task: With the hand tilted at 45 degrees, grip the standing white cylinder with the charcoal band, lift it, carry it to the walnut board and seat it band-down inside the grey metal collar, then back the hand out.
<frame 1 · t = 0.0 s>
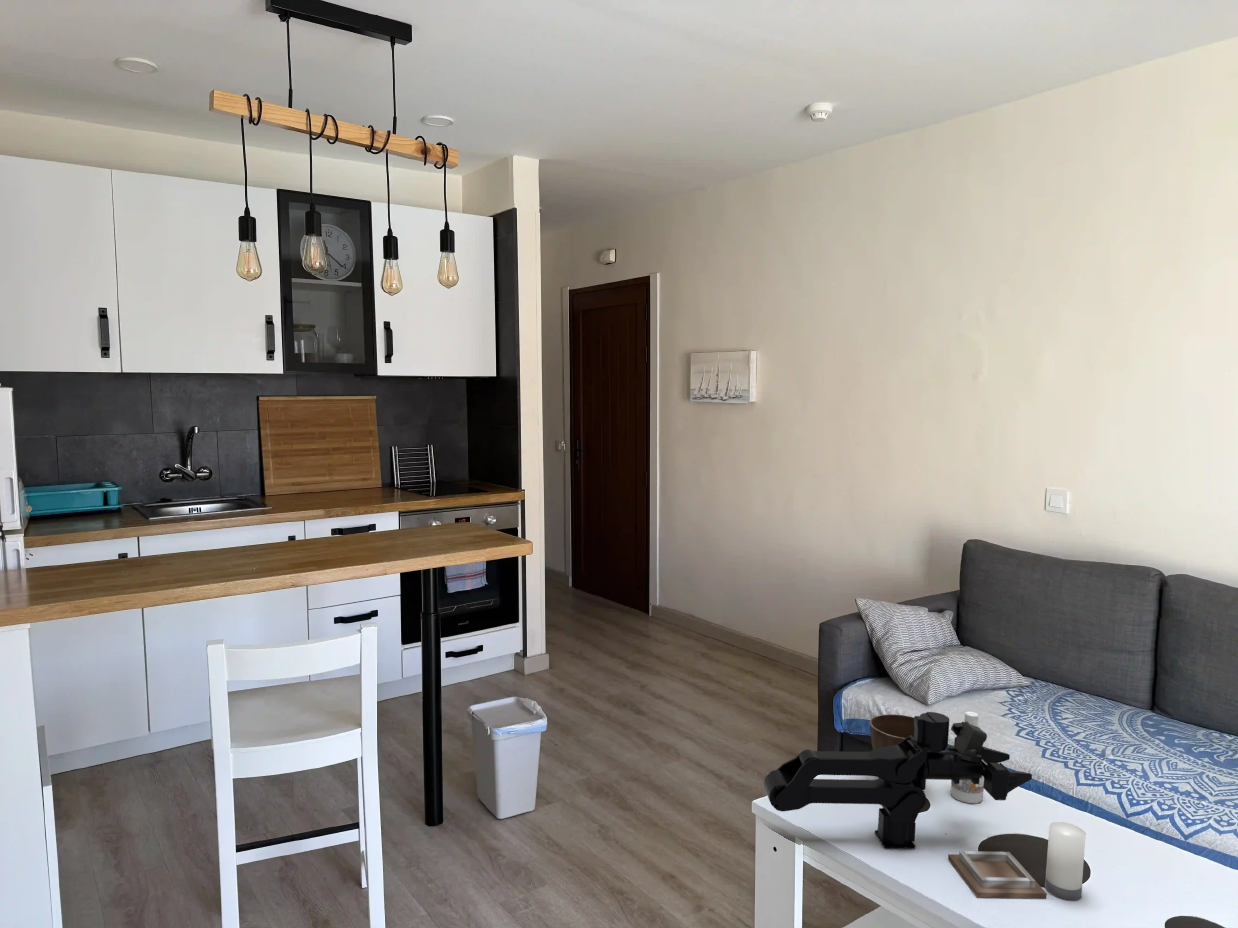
hand: (1020, 766, 173), 17 cm above the table, tool horizontal, fingers open, 9 cm apart
white cylinder: (1062, 890, 157), on the table
bath foam: (966, 797, 194), on the table
plant pot: (899, 792, 196), on the table
walnut board: (995, 877, 161), on the table
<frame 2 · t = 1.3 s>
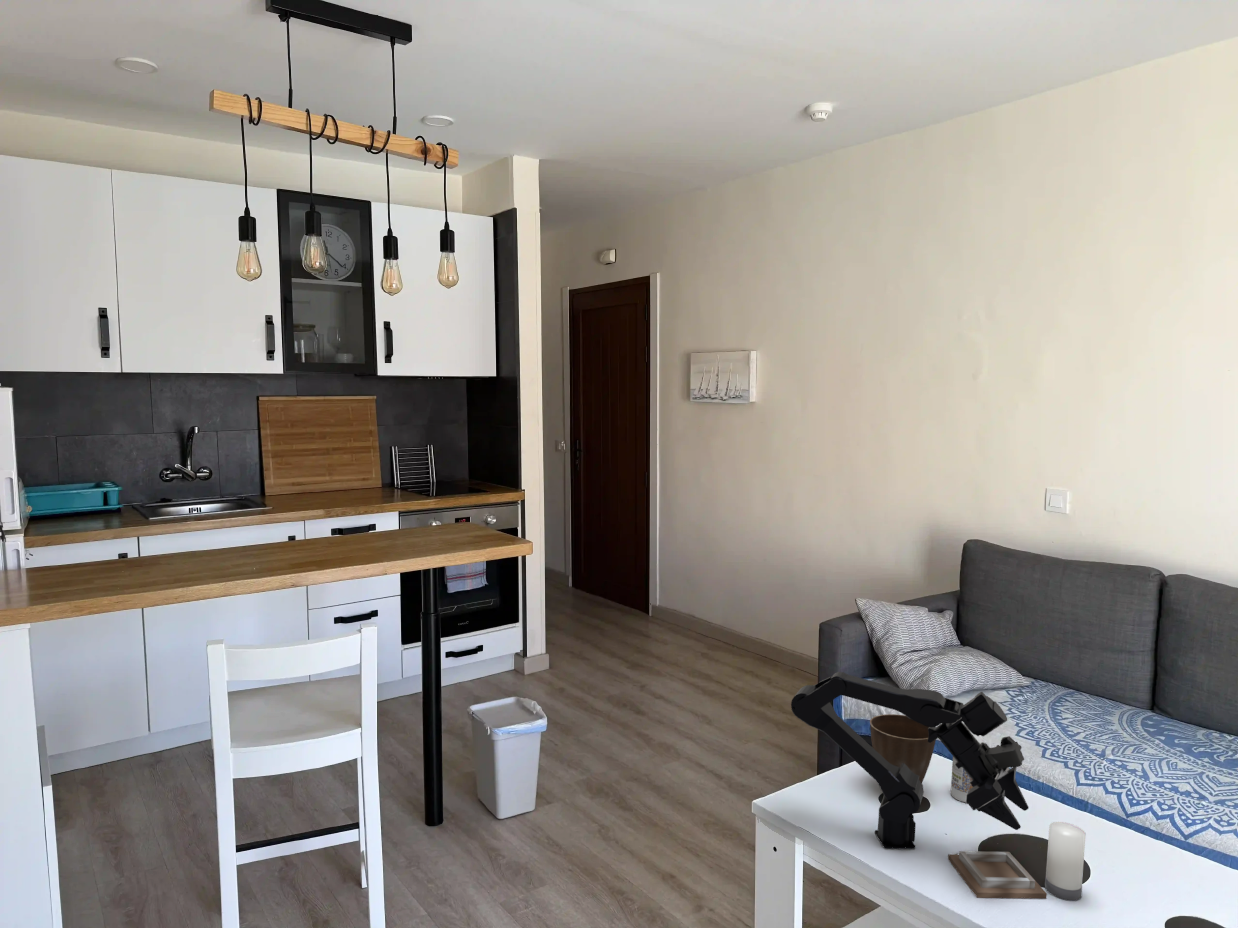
hand: (1022, 818, 161), 12 cm above the table, tool tilted 45°, fingers open, 9 cm apart
nothing on the table moved.
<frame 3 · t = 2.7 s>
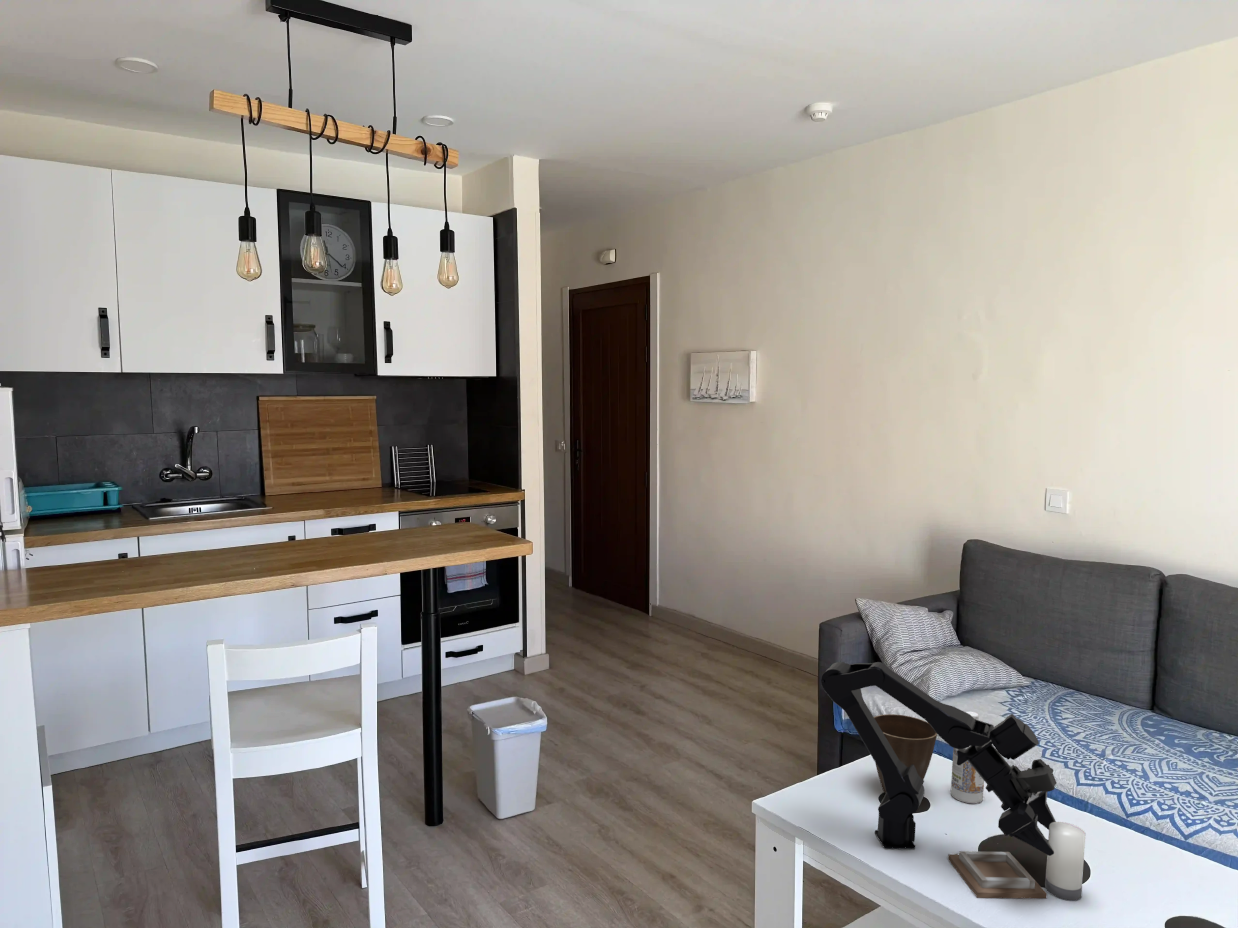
hand: (1055, 843, 158), 9 cm above the table, tool tilted 45°, fingers open, 9 cm apart
nothing on the table moved.
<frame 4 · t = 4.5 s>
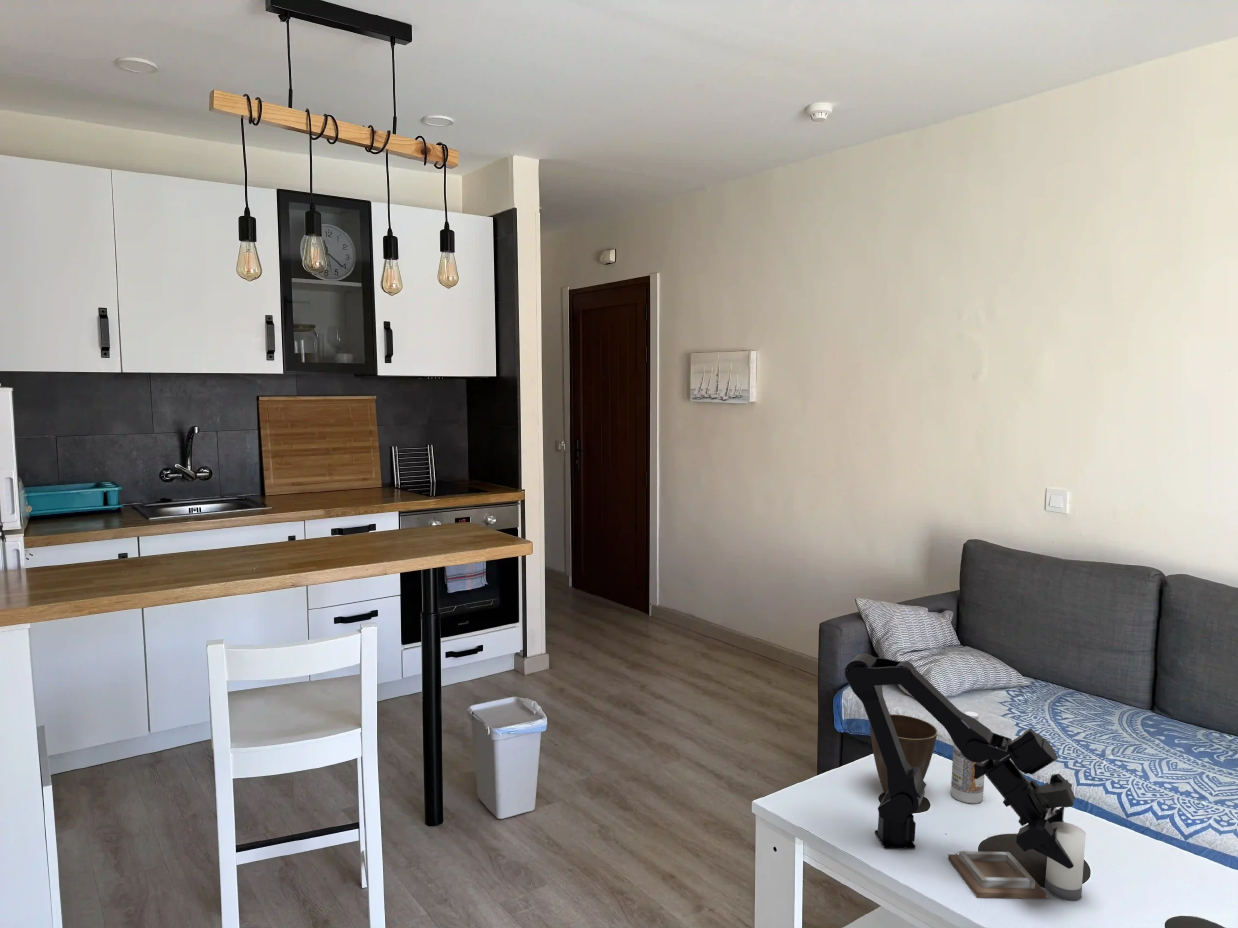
hand: (1073, 859, 156), 7 cm above the table, tool tilted 45°, fingers closed on white cylinder, 6 cm apart
white cylinder: (1063, 890, 157), on the table, touching gripper
everything else where it was.
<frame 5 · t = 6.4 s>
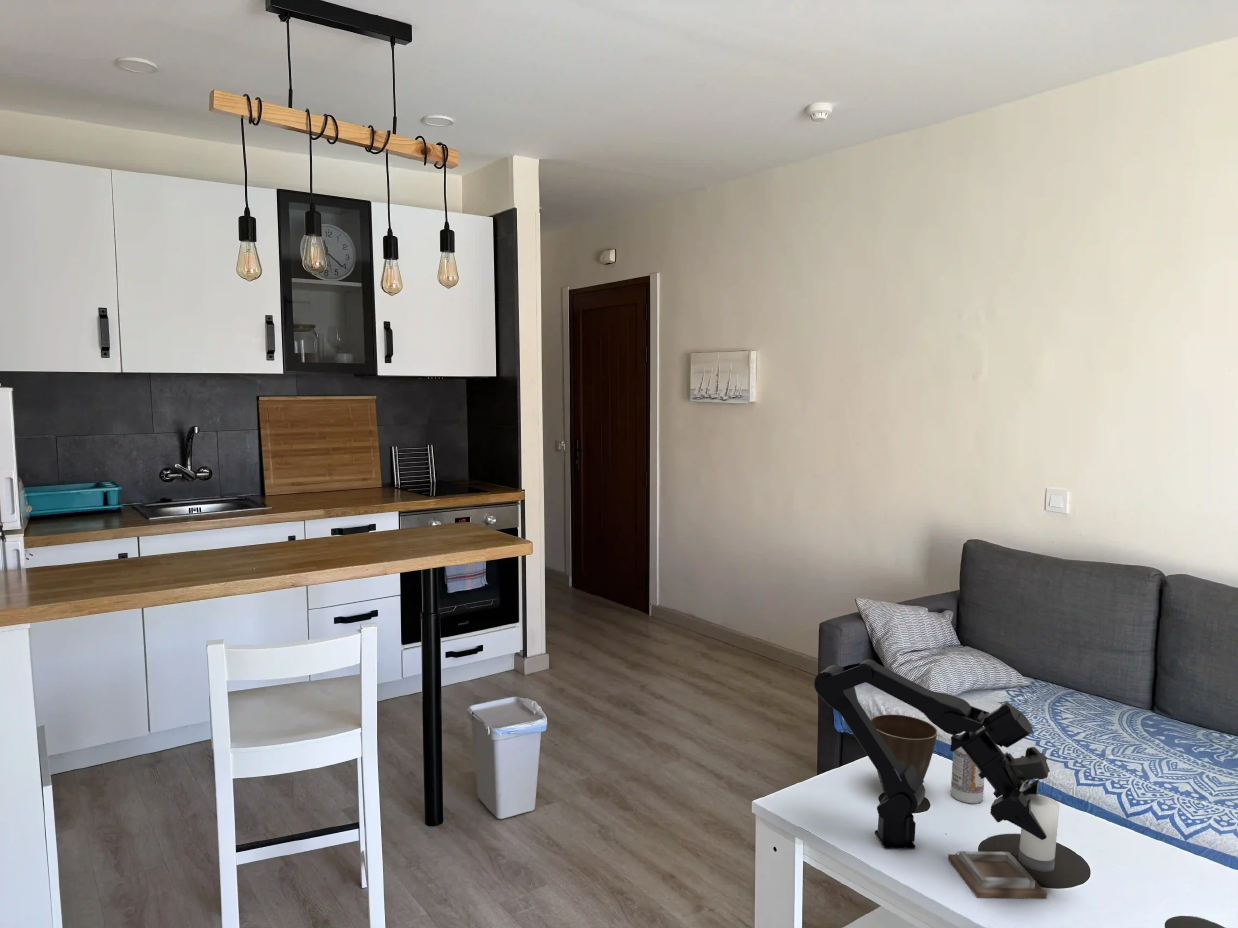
hand: (1047, 831, 157), 11 cm above the table, tool tilted 45°, fingers closed on white cylinder, 6 cm apart
white cylinder: (1036, 862, 159), point 5 cm above the table, touching gripper
everything else where it was.
when the fingers open (8 cm above the table, at t = 8.7 s): white cylinder stays where it is, resting on walnut board.
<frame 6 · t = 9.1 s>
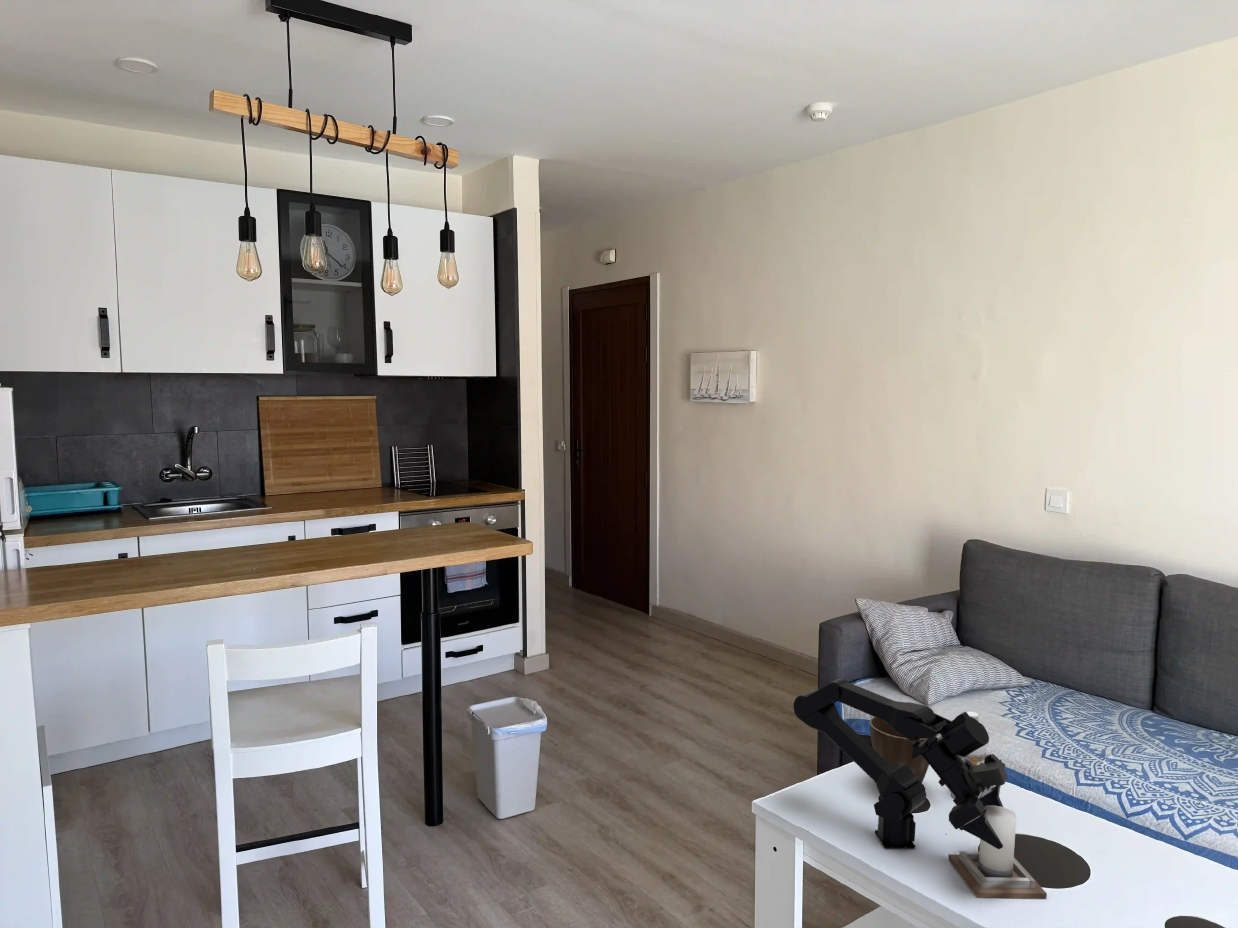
hand: (1005, 837, 160), 9 cm above the table, tool tilted 45°, fingers open, 9 cm apart
white cylinder: (995, 872, 161), point 1 cm above the table, touching walnut board
everything else where it was.
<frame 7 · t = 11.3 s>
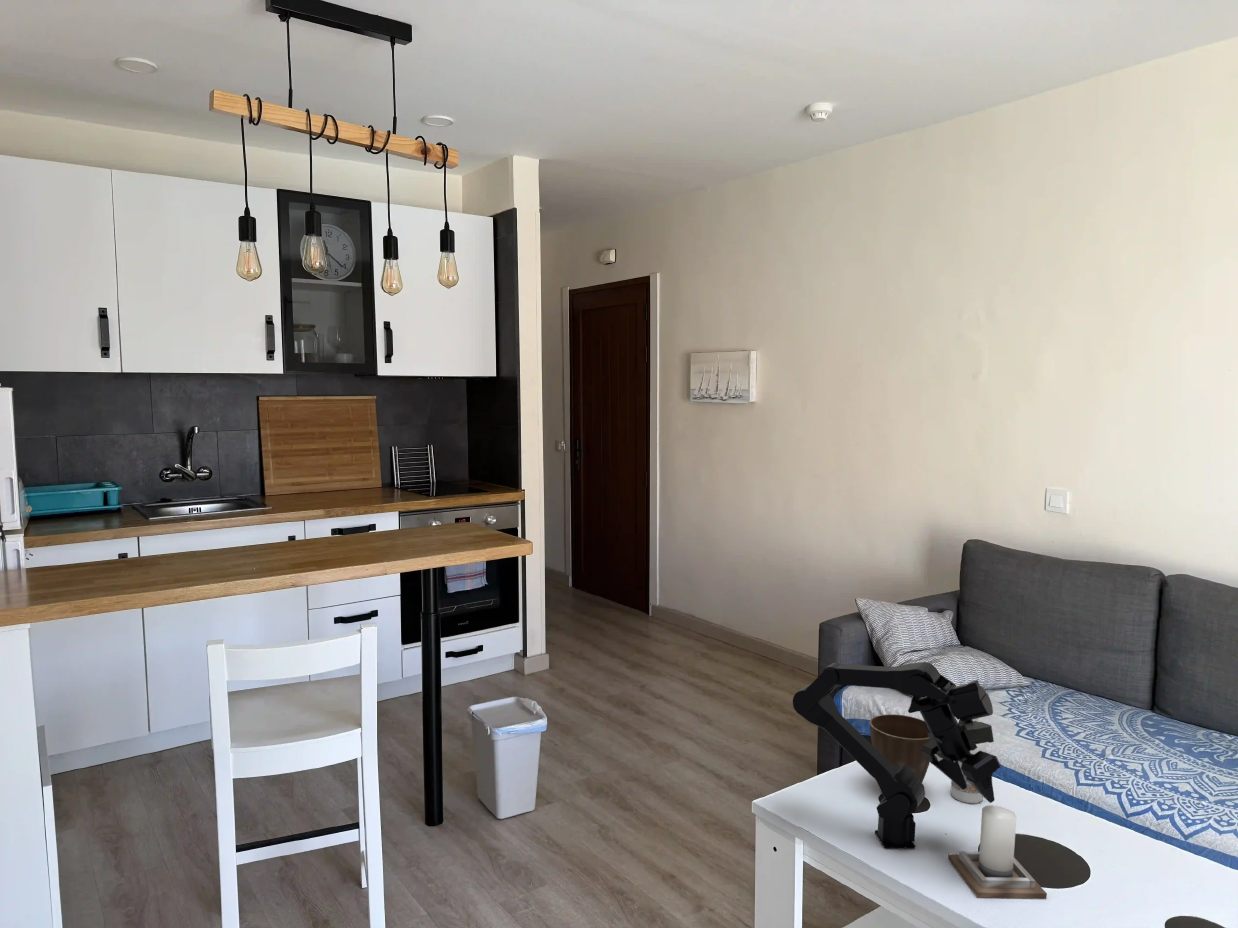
hand: (978, 794, 167), 13 cm above the table, tool tilted 30°, fingers open, 9 cm apart
nothing on the table moved.
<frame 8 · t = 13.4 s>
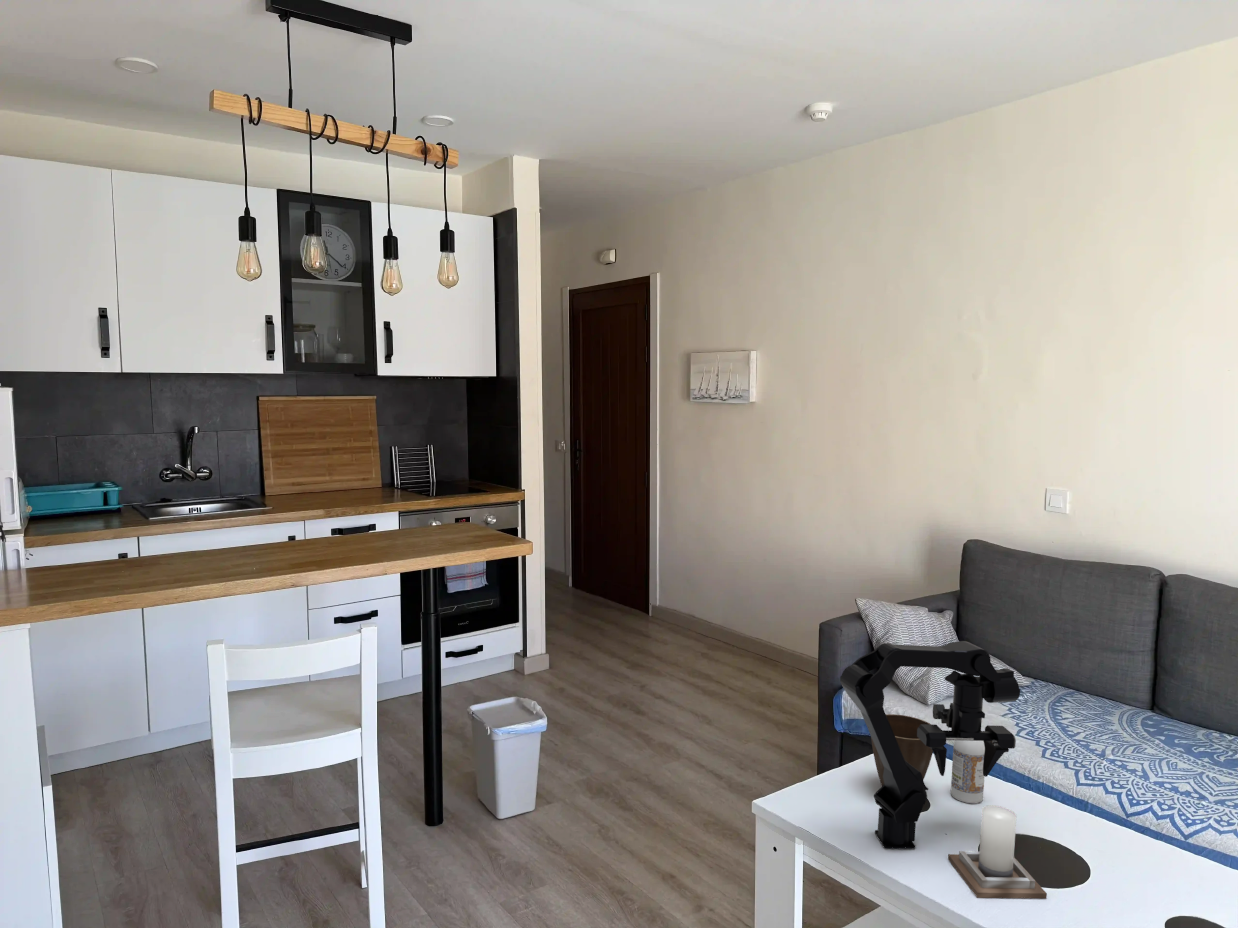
hand: (963, 775, 176), 13 cm above the table, tool pointing down, fingers open, 9 cm apart
nothing on the table moved.
at the end: white cylinder 0.1 cm off-centre on the walnut board, point 1.0 cm above the walnut board's base; white cylinder tilted 0°; the gripper is holding nothing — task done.
